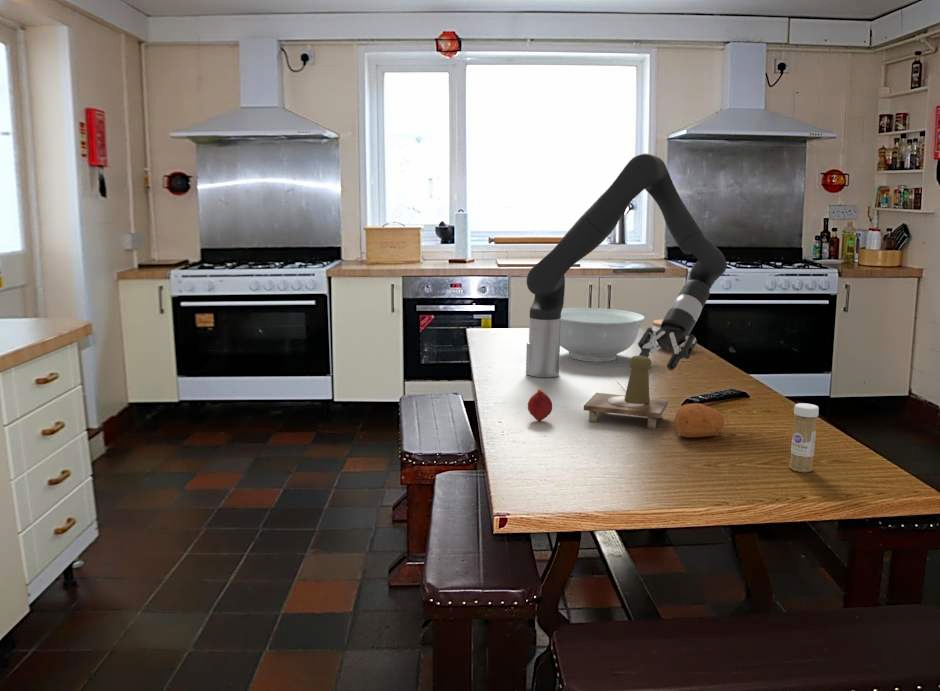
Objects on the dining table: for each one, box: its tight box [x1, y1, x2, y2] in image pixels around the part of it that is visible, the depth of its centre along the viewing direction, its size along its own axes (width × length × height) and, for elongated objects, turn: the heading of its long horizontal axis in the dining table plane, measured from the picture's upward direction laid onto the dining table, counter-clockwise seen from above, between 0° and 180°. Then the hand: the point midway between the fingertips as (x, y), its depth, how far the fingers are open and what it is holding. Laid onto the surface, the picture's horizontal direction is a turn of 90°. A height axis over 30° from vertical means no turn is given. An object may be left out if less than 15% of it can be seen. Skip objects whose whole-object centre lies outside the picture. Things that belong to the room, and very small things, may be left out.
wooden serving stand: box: [583, 392, 669, 430], centre depth 212 cm, size 18×14×5 cm
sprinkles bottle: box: [788, 402, 820, 473], centre depth 175 cm, size 5×5×14 cm
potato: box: [673, 402, 725, 439], centre depth 198 cm, size 9×11×8 cm
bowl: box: [560, 307, 646, 363], centre depth 285 cm, size 32×32×15 cm
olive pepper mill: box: [624, 355, 652, 404], centre depth 210 cm, size 6×6×11 cm
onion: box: [527, 388, 553, 422], centre depth 208 cm, size 6×6×8 cm
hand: (654, 365), depth 218 cm, fingers open, 8 cm apart
